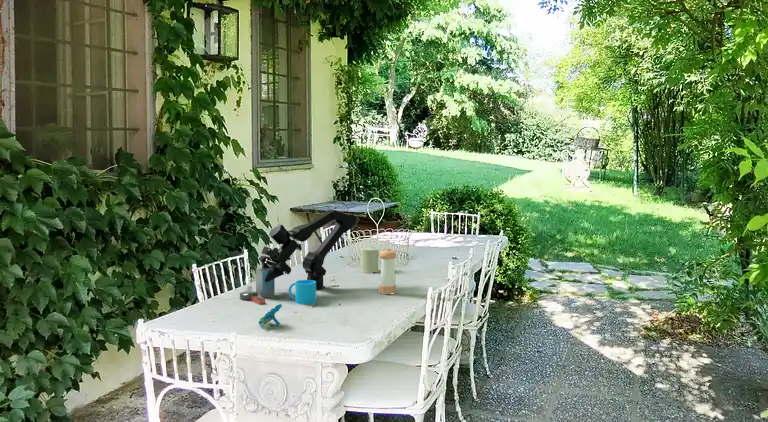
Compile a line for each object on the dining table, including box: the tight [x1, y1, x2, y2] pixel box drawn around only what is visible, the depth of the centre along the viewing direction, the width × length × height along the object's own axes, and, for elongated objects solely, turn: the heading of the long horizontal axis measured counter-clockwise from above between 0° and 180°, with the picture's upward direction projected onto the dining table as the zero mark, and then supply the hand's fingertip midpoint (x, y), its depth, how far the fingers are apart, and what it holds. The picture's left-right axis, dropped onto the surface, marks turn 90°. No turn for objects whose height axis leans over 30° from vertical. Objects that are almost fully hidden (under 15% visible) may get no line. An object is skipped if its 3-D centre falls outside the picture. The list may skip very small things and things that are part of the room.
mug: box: [288, 279, 317, 305], centre depth 259 cm, size 12×8×8 cm
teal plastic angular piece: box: [258, 303, 283, 329], centre depth 224 cm, size 11×6×10 cm
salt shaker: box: [378, 248, 397, 295], centre depth 274 cm, size 7×7×19 cm
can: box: [359, 246, 379, 274], centre depth 321 cm, size 9×9×12 cm
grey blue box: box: [255, 268, 276, 299], centre depth 267 cm, size 6×6×11 cm
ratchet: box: [239, 285, 266, 305], centre depth 260 cm, size 7×15×5 cm, turn 38°
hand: (262, 280), depth 266 cm, fingers closed on grey blue box, 6 cm apart
